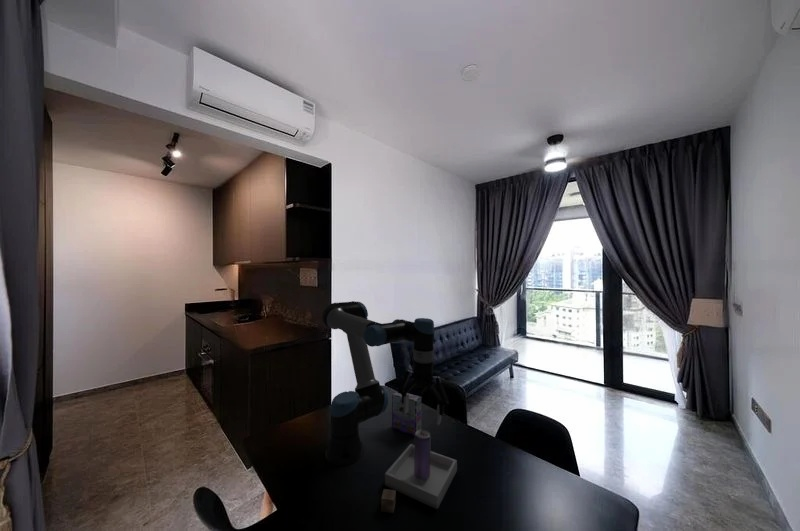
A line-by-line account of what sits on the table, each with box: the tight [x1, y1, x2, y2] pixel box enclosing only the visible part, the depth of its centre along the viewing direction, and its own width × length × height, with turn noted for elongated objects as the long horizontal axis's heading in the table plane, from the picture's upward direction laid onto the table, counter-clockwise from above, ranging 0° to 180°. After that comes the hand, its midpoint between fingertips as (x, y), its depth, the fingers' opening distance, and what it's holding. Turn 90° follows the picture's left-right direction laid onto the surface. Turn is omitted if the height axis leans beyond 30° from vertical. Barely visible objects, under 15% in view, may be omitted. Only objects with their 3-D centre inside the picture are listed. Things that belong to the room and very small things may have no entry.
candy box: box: [391, 391, 422, 437], centre depth 132 cm, size 14×6×16 cm, turn 58°
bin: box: [384, 443, 458, 511], centre depth 100 cm, size 20×20×4 cm
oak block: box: [380, 488, 397, 514], centre depth 88 cm, size 4×4×4 cm
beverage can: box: [413, 428, 432, 480], centre depth 100 cm, size 6×6×15 cm
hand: (421, 417), depth 101 cm, fingers open, 13 cm apart
